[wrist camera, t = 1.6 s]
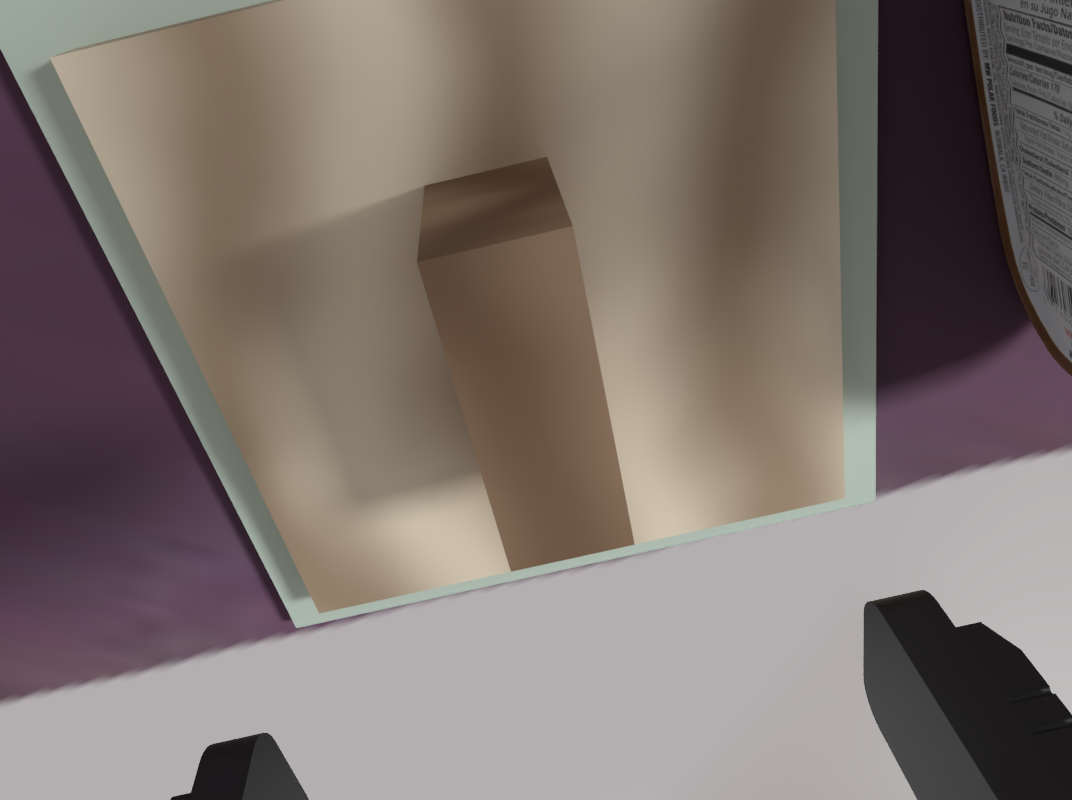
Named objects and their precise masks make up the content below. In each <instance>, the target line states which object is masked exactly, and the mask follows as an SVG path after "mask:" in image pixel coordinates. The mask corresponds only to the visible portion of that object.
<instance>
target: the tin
mask: <svg viewBox="0 0 1072 800" xmlns="http://www.w3.org/2000/svg"><path fill="white" fill-rule="evenodd" d="M964 6H965V14H966V21H967V28H968V34H969V40H970V46H971V53H972V60H973V67H974V74H975V81H976V87H977V94H978V100H979V107H980V113H981V120H982V126H983V132H984V138H985V145H986V151H987V157H988V163H989V170H990V176H991V182H992V188H993V194H994V200H995V206H996V211H997V217H998V223H999V229H1000V235H1001V239H1002V244H1003V248H1004V252H1005V256H1006V259H1007V263H1008V266H1009V269H1010V272H1011V275H1012V278H1013V281H1014V284H1015V286H1016V289H1017V292H1018V294H1019V296H1020V299H1021V301H1022V303H1023V306H1024V308H1025V310H1026V312H1027V314H1028V316H1029V318H1030V320H1031V322H1032V324H1033V326H1034V328H1035V329H1036V331H1037V333H1038V335H1039V336H1040V338H1041V340H1042V341H1043V343H1044V344H1045V346H1046V348H1047V349H1048V351H1049V352H1050V354H1051V355H1052V357H1053V358H1054V359H1055V360H1056V361H1057V363H1058V364H1059V365H1060V366H1061V367H1062V368H1063V369H1064V370H1065V371H1066V372H1067V373H1069V374H1070V375H1071V376H1072V0H964Z"/></svg>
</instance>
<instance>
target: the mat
mask: <svg viewBox="0 0 1072 800" xmlns="http://www.w3.org/2000/svg"><path fill="white" fill-rule="evenodd" d="M267 1H271V0H0V49H1V51H2V53H3V55H4V57H5V59H6V61H7V63H8V65H9V67H10V69H11V71H12V73H13V75H14V77H15V79H16V81H17V83H18V85H19V87H20V88H21V90H22V92H23V94H24V96H25V98H26V100H27V102H28V104H29V106H30V108H31V110H32V112H33V114H34V116H35V118H36V120H37V122H38V124H39V126H40V128H41V130H42V132H43V133H44V135H45V137H46V139H47V141H48V143H49V145H50V147H51V149H52V151H53V153H54V155H55V157H56V159H57V161H58V163H59V165H60V167H61V169H62V171H63V173H64V175H65V177H66V178H67V180H68V182H69V184H70V186H71V188H72V190H73V192H74V194H75V196H76V198H77V200H78V202H79V204H80V206H81V208H82V210H83V212H84V214H85V216H86V218H87V220H88V222H89V223H90V225H91V227H92V229H93V231H94V233H95V235H96V237H97V239H98V241H99V243H100V245H101V247H102V249H103V251H104V253H105V255H106V257H107V259H108V261H109V263H110V265H111V267H112V268H113V270H114V272H115V274H116V276H117V278H118V280H119V282H120V284H121V286H122V288H123V290H124V292H125V294H126V296H127V298H128V300H129V302H130V304H131V306H132V308H133V310H134V311H135V313H136V315H137V317H138V319H139V321H140V323H141V325H142V327H143V329H144V331H145V333H146V335H147V337H148V339H149V341H150V343H151V345H152V347H153V349H154V351H155V353H156V355H157V356H158V358H159V360H160V362H161V364H162V366H163V368H164V370H165V372H166V374H167V376H168V378H169V380H170V382H171V384H172V386H173V388H174V390H175V392H176V394H177V396H178V398H179V400H180V401H181V403H182V405H183V407H184V409H185V411H186V413H187V415H188V417H189V419H190V421H191V423H192V425H193V427H194V429H195V431H196V433H197V435H198V437H199V439H200V441H201V443H202V445H203V446H204V448H205V450H206V452H207V454H208V456H209V458H210V460H211V462H212V464H213V466H214V468H215V470H216V472H217V474H218V476H219V478H220V480H221V482H222V484H223V486H224V488H225V490H226V491H227V493H228V495H229V497H230V499H231V501H232V503H233V505H234V507H235V509H236V511H237V513H238V515H239V517H240V519H241V521H242V523H243V525H244V527H245V529H246V531H247V533H248V535H249V536H250V538H251V540H252V542H253V544H254V546H255V548H256V550H257V552H258V554H259V556H260V558H261V560H262V562H263V564H264V566H265V568H266V570H267V572H268V574H269V576H270V578H271V580H272V581H273V583H274V585H275V587H276V589H277V591H278V593H279V595H280V597H281V599H282V601H283V603H284V605H285V607H286V609H287V611H288V613H289V615H290V617H291V619H292V621H293V623H294V625H295V626H296V628H299V627H304V626H308V625H313V624H317V623H322V622H327V621H331V620H336V619H340V618H345V617H349V616H354V615H359V614H363V613H368V612H372V611H377V610H382V609H386V608H391V607H395V606H400V605H404V604H409V603H414V602H418V601H423V600H427V599H432V598H436V597H441V596H446V595H450V594H455V593H459V592H464V591H468V590H473V589H478V588H482V587H487V586H491V585H496V584H500V583H505V582H510V581H514V580H519V579H523V578H528V577H532V576H537V575H542V574H546V573H551V572H555V571H560V570H564V569H569V568H574V567H578V566H583V565H587V564H592V563H596V562H601V561H606V560H610V559H615V558H619V557H624V556H628V555H633V554H638V553H642V552H647V551H651V550H656V549H660V548H665V547H670V546H674V545H679V544H683V543H688V542H692V541H697V540H702V539H706V538H711V537H715V536H720V535H724V534H729V533H734V532H738V531H743V530H747V529H752V528H756V527H761V526H766V525H770V524H775V523H779V522H784V521H788V520H793V519H798V518H802V517H807V516H811V515H816V514H820V513H825V512H830V511H834V510H839V509H843V508H848V507H852V506H857V505H862V504H866V503H871V502H875V491H876V310H877V128H878V0H835V4H836V56H837V109H838V162H839V214H840V267H841V320H842V373H843V425H844V478H845V499H840V500H836V501H831V502H826V503H822V504H817V505H813V506H808V507H804V508H799V509H794V510H790V511H785V512H781V513H776V514H772V515H767V516H762V517H758V518H753V519H749V520H744V521H740V522H735V523H731V524H726V525H721V526H717V527H712V528H708V529H703V530H699V531H694V532H689V533H685V534H680V535H676V536H671V537H667V538H662V539H658V540H653V541H648V542H644V543H639V544H635V545H631V546H626V547H622V548H617V549H613V550H608V551H604V552H599V553H595V554H590V555H585V556H581V557H576V558H572V559H567V560H563V561H558V562H553V563H549V564H544V565H540V566H535V567H531V568H526V569H521V570H517V571H512V572H507V573H502V574H498V575H493V576H489V577H484V578H479V579H475V580H470V581H466V582H461V583H457V584H452V585H448V586H443V587H438V588H434V589H429V590H425V591H420V592H416V593H411V594H406V595H402V596H397V597H393V598H388V599H384V600H379V601H374V602H370V603H365V604H361V605H356V606H352V607H347V608H343V609H338V610H333V611H329V612H324V613H320V614H319V612H318V610H317V608H316V606H315V604H314V602H313V600H312V598H311V596H310V594H309V592H308V590H307V588H306V586H305V584H304V581H303V579H302V577H301V575H300V573H299V571H298V569H297V567H296V565H295V563H294V561H293V559H292V557H291V555H290V553H289V551H288V548H287V546H286V544H285V542H284V540H283V538H282V536H281V534H280V532H279V530H278V528H277V526H276V524H275V522H274V520H273V518H272V515H271V513H270V511H269V509H268V507H267V505H266V503H265V501H264V499H263V497H262V495H261V493H260V491H259V489H258V487H257V485H256V482H255V480H254V478H253V476H252V474H251V472H250V470H249V468H248V466H247V464H246V462H245V460H244V458H243V456H242V454H241V451H240V449H239V447H238V445H237V443H236V441H235V439H234V437H233V435H232V433H231V431H230V429H229V427H228V425H227V423H226V421H225V418H224V416H223V414H222V412H221V410H220V408H219V406H218V404H217V402H216V400H215V398H214V396H213V394H212V392H211V390H210V388H209V385H208V383H207V381H206V379H205V377H204V375H203V373H202V371H201V369H200V367H199V365H198V363H197V361H196V359H195V357H194V355H193V352H192V350H191V348H190V346H189V344H188V342H187V340H186V338H185V336H184V334H183V332H182V330H181V328H180V326H179V324H178V321H177V319H176V317H175V315H174V313H173V311H172V309H171V307H170V305H169V303H168V301H167V299H166V297H165V295H164V293H163V291H162V288H161V286H160V284H159V282H158V280H157V278H156V276H155V274H154V272H153V270H152V268H151V266H150V264H149V262H148V260H147V258H146V255H145V253H144V251H143V249H142V247H141V245H140V243H139V241H138V239H137V237H136V235H135V233H134V231H133V229H132V227H131V225H130V222H129V220H128V218H127V216H126V214H125V212H124V210H123V208H122V206H121V204H120V202H119V200H118V198H117V196H116V194H115V191H114V189H113V187H112V185H111V183H110V181H109V179H108V177H107V175H106V173H105V171H104V169H103V167H102V165H101V163H100V161H99V158H98V156H97V154H96V152H95V150H94V148H93V146H92V144H91V142H90V140H89V138H88V136H87V134H86V132H85V130H84V128H83V125H82V123H81V121H80V119H79V117H78V115H77V113H76V111H75V109H74V107H73V105H72V103H71V101H70V99H69V97H68V95H67V92H66V90H65V88H64V86H63V84H62V82H61V80H60V78H59V76H58V74H57V72H56V70H55V68H54V66H53V64H52V61H51V59H50V57H53V56H55V55H58V54H61V53H63V52H66V51H69V50H71V49H75V48H79V47H83V46H87V45H91V44H96V43H100V42H104V41H108V40H112V39H116V38H120V37H124V36H128V35H132V34H136V33H140V32H145V31H149V30H153V29H157V28H161V27H165V26H169V25H173V24H177V23H181V22H185V21H190V20H194V19H198V18H202V17H206V16H210V15H214V14H218V13H222V12H226V11H230V10H234V9H239V8H243V7H247V6H251V5H255V4H259V3H263V2H267Z"/></svg>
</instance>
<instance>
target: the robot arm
mask: <svg viewBox="0 0 1072 800" xmlns="http://www.w3.org/2000/svg"><path fill="white" fill-rule="evenodd" d="M864 684H865V690H866V694H867V698H868V701H869V704H870V707H871V710H872V713H873V715H874V718H875V720H876V722H877V724H878V726H879V728H880V730H881V732H882V734H883V736H884V738H885V740H886V742H887V743H888V745H889V747H890V749H891V751H892V753H893V754H894V756H895V758H896V760H897V762H898V764H899V766H900V768H901V770H902V772H903V773H904V775H905V777H906V779H907V781H908V783H909V784H910V787H911V788H912V790H913V792H914V794H915V796H916V798H917V799H918V800H1072V715H1071V713H1070V712H1069V711H1068V709H1067V708H1066V707H1065V706H1064V704H1063V703H1062V702H1061V700H1060V699H1059V698H1058V697H1057V695H1056V694H1052V693H1051V691H1050V686H1049V685H1048V684H1047V683H1046V681H1045V680H1044V679H1043V677H1042V676H1041V675H1040V674H1039V672H1038V671H1037V670H1036V669H1035V667H1034V666H1033V665H1032V663H1031V662H1030V661H1029V659H1028V658H1027V657H1026V656H1025V654H1024V653H1023V652H1022V651H1021V650H1020V649H1019V648H1018V647H1016V646H1015V645H1013V644H1012V643H1010V642H1009V641H1007V640H1006V639H1004V638H1003V637H1001V636H1000V635H998V634H997V633H996V632H994V631H993V630H991V629H990V628H988V627H987V626H985V625H984V624H982V623H981V622H979V623H975V624H970V625H965V626H961V627H955V626H954V625H953V623H952V622H951V620H950V619H949V617H948V616H947V615H946V613H945V612H944V611H943V609H942V608H941V607H940V605H939V603H938V602H937V601H936V600H935V598H934V597H933V596H932V595H931V594H930V593H928V592H927V591H925V590H920V591H916V592H911V593H907V594H902V595H898V596H893V597H888V598H884V599H879V600H875V601H870V602H867V603H866V604H865V607H864ZM171 800H309V799H308V797H307V795H306V793H305V792H304V790H303V788H302V786H301V785H300V783H299V782H298V780H297V778H296V776H295V774H294V773H293V771H292V769H291V768H290V766H289V764H288V762H287V761H286V759H285V758H284V756H283V754H282V752H281V750H280V749H279V747H278V745H277V743H276V742H275V740H274V739H273V737H272V736H271V735H270V734H268V733H261V734H257V735H253V736H248V737H244V738H239V739H234V740H230V741H225V742H221V743H216V744H212V745H210V746H208V747H207V748H206V750H205V751H204V753H203V755H202V757H201V760H200V763H199V767H198V770H197V774H196V777H195V781H194V785H193V788H192V791H191V793H189V794H184V795H180V796H175V797H172V798H171Z"/></svg>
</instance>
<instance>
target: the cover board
mask: <svg viewBox="0 0 1072 800" xmlns="http://www.w3.org/2000/svg"><path fill="white" fill-rule="evenodd" d="M50 59H51V61H52V64H53V66H54V68H55V70H56V72H57V74H58V76H59V78H60V80H61V82H62V84H63V86H64V88H65V90H66V92H67V95H68V97H69V99H70V101H71V103H72V105H73V107H74V109H75V111H76V113H77V115H78V117H79V119H80V121H81V123H82V125H83V128H84V130H85V132H86V134H87V136H88V138H89V140H90V142H91V144H92V146H93V148H94V150H95V152H96V154H97V156H98V158H99V161H100V163H101V165H102V167H103V169H104V171H105V173H106V175H107V177H108V179H109V181H110V183H111V185H112V187H113V189H114V191H115V194H116V196H117V198H118V200H119V202H120V204H121V206H122V208H123V210H124V212H125V214H126V216H127V218H128V220H129V222H130V225H131V227H132V229H133V231H134V233H135V235H136V237H137V239H138V241H139V243H140V245H141V247H142V249H143V251H144V253H145V255H146V258H147V260H148V262H149V264H150V266H151V268H152V270H153V272H154V274H155V276H156V278H157V280H158V282H159V284H160V286H161V288H162V291H163V293H164V295H165V297H166V299H167V301H168V303H169V305H170V307H171V309H172V311H173V313H174V315H175V317H176V319H177V321H178V324H179V326H180V328H181V330H182V332H183V334H184V336H185V338H186V340H187V342H188V344H189V346H190V348H191V350H192V352H193V355H194V357H195V359H196V361H197V363H198V365H199V367H200V369H201V371H202V373H203V375H204V377H205V379H206V381H207V383H208V385H209V388H210V390H211V392H212V394H213V396H214V398H215V400H216V402H217V404H218V406H219V408H220V410H221V412H222V414H223V416H224V418H225V421H226V423H227V425H228V427H229V429H230V431H231V433H232V435H233V437H234V439H235V441H236V443H237V445H238V447H239V449H240V451H241V454H242V456H243V458H244V460H245V462H246V464H247V466H248V468H249V470H250V472H251V474H252V476H253V478H254V480H255V482H256V485H257V487H258V489H259V491H260V493H261V495H262V497H263V499H264V501H265V503H266V505H267V507H268V509H269V511H270V513H271V515H272V518H273V520H274V522H275V524H276V526H277V528H278V530H279V532H280V534H281V536H282V538H283V540H284V542H285V544H286V546H287V548H288V551H289V553H290V555H291V557H292V559H293V561H294V563H295V565H296V567H297V569H298V571H299V573H300V575H301V577H302V579H303V581H304V584H305V586H306V588H307V590H308V592H309V594H310V596H311V598H312V600H313V602H314V604H315V606H316V608H317V610H318V612H319V614H320V613H324V612H329V611H333V610H338V609H343V608H347V607H352V606H356V605H361V604H365V603H370V602H374V601H379V600H384V599H388V598H393V597H397V596H402V595H406V594H411V593H416V592H420V591H425V590H429V589H434V588H438V587H443V586H448V585H452V584H457V583H461V582H466V581H470V580H475V579H479V578H484V577H489V576H493V575H498V574H502V573H507V572H512V571H517V570H521V569H526V568H531V567H535V566H540V565H544V564H549V563H553V562H558V561H563V560H567V559H572V558H576V557H581V556H585V555H590V554H595V553H599V552H604V551H608V550H613V549H617V548H622V547H626V546H631V545H635V544H639V543H644V542H648V541H653V540H658V539H662V538H667V537H671V536H676V535H680V534H685V533H689V532H694V531H699V530H703V529H708V528H712V527H717V526H721V525H726V524H731V523H735V522H740V521H744V520H749V519H753V518H758V517H762V516H767V515H772V514H776V513H781V512H785V511H790V510H794V509H799V508H804V507H808V506H813V505H817V504H822V503H826V502H831V501H836V500H840V499H845V478H844V425H843V373H842V320H841V267H840V214H839V162H838V109H837V56H836V4H835V0H271V1H267V2H263V3H259V4H255V5H251V6H247V7H243V8H239V9H234V10H230V11H226V12H222V13H218V14H214V15H210V16H206V17H202V18H198V19H194V20H190V21H185V22H181V23H177V24H173V25H169V26H165V27H161V28H157V29H153V30H149V31H145V32H140V33H136V34H132V35H128V36H124V37H120V38H116V39H112V40H108V41H104V42H100V43H96V44H91V45H87V46H83V47H79V48H75V49H71V50H69V51H66V52H63V53H61V54H58V55H55V56H53V57H50Z"/></svg>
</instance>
